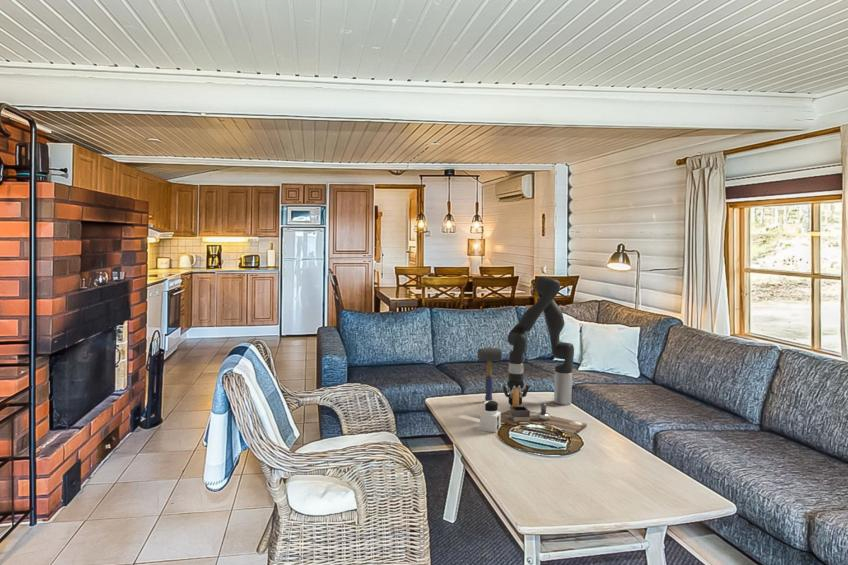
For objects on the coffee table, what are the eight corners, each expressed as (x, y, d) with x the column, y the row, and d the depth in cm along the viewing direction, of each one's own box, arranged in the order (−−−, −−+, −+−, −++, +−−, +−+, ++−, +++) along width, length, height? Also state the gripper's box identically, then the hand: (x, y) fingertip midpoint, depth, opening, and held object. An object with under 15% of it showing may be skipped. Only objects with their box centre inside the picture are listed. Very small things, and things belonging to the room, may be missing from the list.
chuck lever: (546, 415, 265) (546, 401, 264) (552, 420, 257) (552, 406, 257) (509, 416, 262) (509, 402, 262) (514, 422, 255) (514, 407, 254)
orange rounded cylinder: (513, 410, 274) (513, 385, 273) (520, 411, 271) (521, 386, 271) (509, 412, 271) (510, 386, 270) (516, 413, 268) (517, 388, 267)
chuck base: (513, 410, 278) (513, 407, 278) (586, 426, 255) (586, 423, 254) (489, 422, 259) (489, 418, 259) (566, 441, 236) (566, 437, 236)
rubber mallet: (497, 399, 298) (499, 346, 296) (501, 403, 290) (502, 348, 288) (476, 400, 296) (476, 346, 294) (479, 404, 289) (480, 349, 287)
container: (500, 427, 252) (501, 400, 251) (495, 432, 245) (496, 405, 244) (484, 425, 255) (485, 398, 254) (479, 430, 248) (480, 402, 247)
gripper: (504, 373, 265) (503, 407, 266) (532, 373, 267) (531, 406, 268) (500, 370, 272) (499, 403, 274) (527, 369, 274) (526, 402, 275)
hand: (515, 404), depth 271 cm, fingers closed on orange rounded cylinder, 4 cm apart
